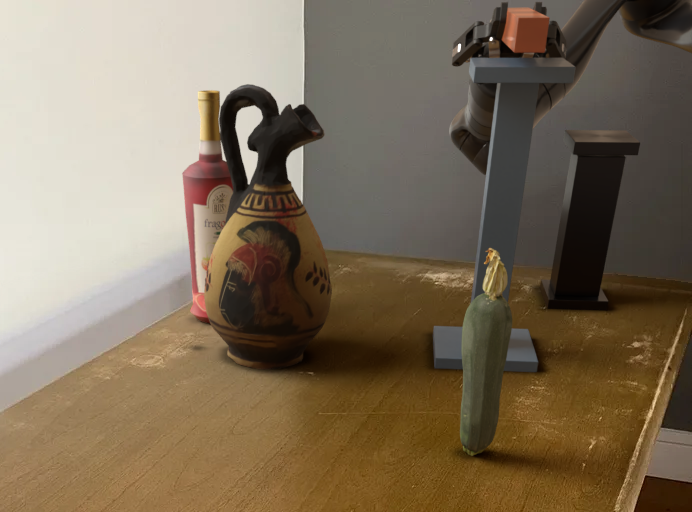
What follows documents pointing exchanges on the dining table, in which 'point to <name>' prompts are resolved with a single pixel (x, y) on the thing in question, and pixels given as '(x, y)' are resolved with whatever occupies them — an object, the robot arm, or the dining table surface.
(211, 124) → the liquor
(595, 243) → the pedestal
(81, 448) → the dining table surface
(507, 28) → the orange rectangular block
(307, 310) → the ceramic jug
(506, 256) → the blue display stand
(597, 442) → the dining table surface
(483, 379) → the vegetable
